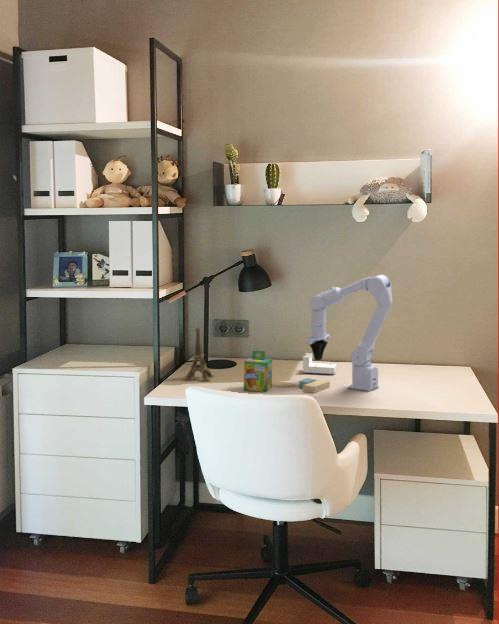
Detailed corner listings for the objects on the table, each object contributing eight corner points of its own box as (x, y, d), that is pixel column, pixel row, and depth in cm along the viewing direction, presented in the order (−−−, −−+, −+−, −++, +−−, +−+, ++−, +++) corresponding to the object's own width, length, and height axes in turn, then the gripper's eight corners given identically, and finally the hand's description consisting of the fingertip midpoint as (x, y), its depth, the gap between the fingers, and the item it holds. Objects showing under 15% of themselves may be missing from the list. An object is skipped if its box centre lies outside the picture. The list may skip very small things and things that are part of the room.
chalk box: (243, 391, 292) (243, 353, 290) (249, 385, 301) (249, 348, 299) (267, 392, 290) (267, 354, 288) (272, 386, 299) (272, 349, 297)
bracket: (302, 374, 320) (302, 356, 319) (306, 370, 327) (306, 353, 326) (333, 376, 317) (334, 358, 316) (336, 372, 324) (336, 354, 323)
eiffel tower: (189, 375, 319) (188, 315, 316) (214, 376, 318) (213, 316, 314) (183, 381, 309) (182, 319, 305) (209, 382, 307) (208, 320, 304)
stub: (316, 385, 300) (316, 379, 299) (307, 388, 295) (307, 382, 295) (307, 384, 302) (307, 377, 302) (299, 387, 297) (299, 380, 297)
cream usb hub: (329, 387, 297) (329, 381, 297) (314, 393, 288) (314, 386, 288) (318, 385, 300) (318, 379, 300) (303, 391, 291) (303, 384, 291)
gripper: (319, 322, 309) (319, 355, 311) (299, 327, 298) (299, 361, 300) (334, 323, 305) (334, 357, 307) (315, 328, 293) (314, 363, 295)
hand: (318, 359), depth 303 cm, fingers closed
